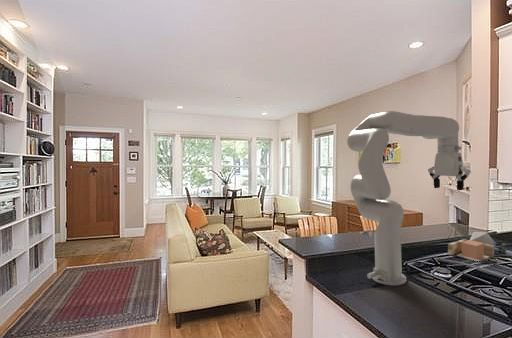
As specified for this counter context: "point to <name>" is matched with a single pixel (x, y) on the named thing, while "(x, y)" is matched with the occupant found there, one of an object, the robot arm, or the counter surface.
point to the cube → (473, 249)
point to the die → (482, 238)
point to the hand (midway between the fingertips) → (448, 188)
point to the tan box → (457, 247)
